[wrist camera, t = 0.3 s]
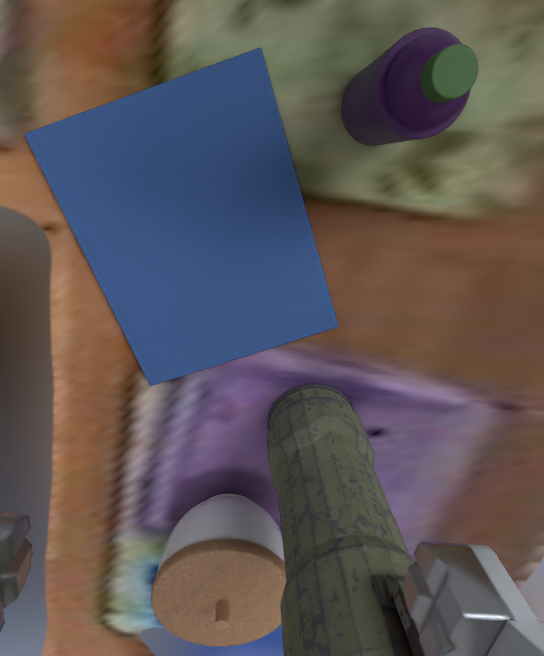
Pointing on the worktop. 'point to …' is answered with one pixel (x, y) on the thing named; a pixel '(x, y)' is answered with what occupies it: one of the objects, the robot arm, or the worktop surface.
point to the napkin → (191, 217)
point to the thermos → (336, 533)
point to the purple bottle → (410, 89)
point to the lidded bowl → (221, 574)
